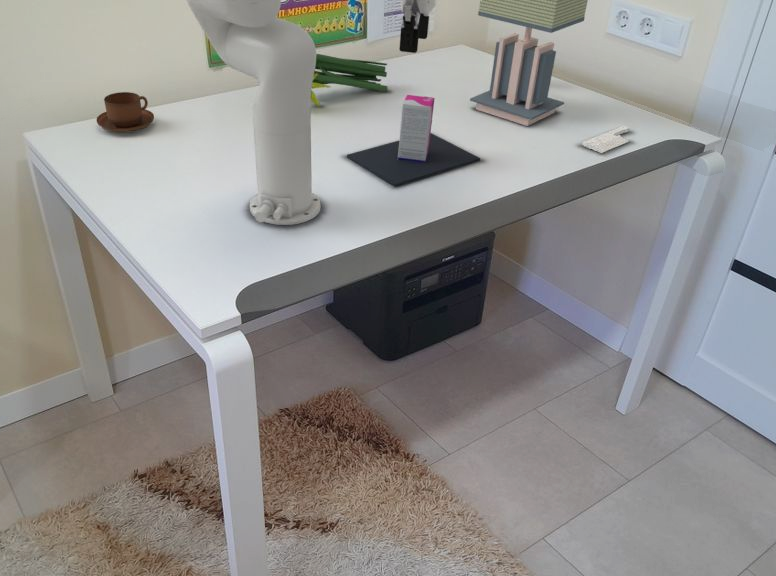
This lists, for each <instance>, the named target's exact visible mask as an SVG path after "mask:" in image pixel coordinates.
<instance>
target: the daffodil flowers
mask: <svg viewBox="0 0 776 576" xmlns="http://www.w3.org/2000/svg"><path fill="white" fill-rule="evenodd" d="M282 19H283V20H286V21H287V16H284V17H283V18H282ZM386 66H388V63H387V62H379V61H371V60H362V59H352V58H351V59H350V58H340V57H335V56H330V55H326V54H321V53H316V65H315V71H314V76H313V82H312V89H320V88H331V87H332V86H331V85H332V84H333V85H340V86H346V87H347V86H348V87H355V88H361V89H367V90H374V91H379V92H386V93H387V92H388V85H385V84H381V83H378V82H381V81H382V78H387V75H388V73H387V71H386ZM319 70H320V71H319ZM378 77H381V78H378ZM330 84H331V85H330ZM311 102H313V103H314V104H315V105H316V106H317V107H321V104H320V103H319V100H318V98H317V96H316V94H315V92H314V91H313V90H311Z"/></svg>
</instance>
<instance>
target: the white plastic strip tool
mask: <svg viewBox="0 0 776 576" xmlns="http://www.w3.org/2000/svg"><path fill="white" fill-rule="evenodd" d="M629 132H630V127H628V126H626V125H622V126H620V127H617V128H614V129H611V130H610V131H606V132H603V133H601V134H599V135H597V136H595V137H594V136H593V137H591V138H589V139H586V140H584V141H582V142H581V146H582V147H585V148H588V149H590V150H592V151H595V152H596V153H597V152H598V153H600V154H603V153H606V152H608V151H610V150H613V149H614V148H618V147H620V146H622V145H625V144H627V143H629V142H630V140H627V139H626V138H624V137H622V136H621V135H622V134H625V133H629Z"/></svg>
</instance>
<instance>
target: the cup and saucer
mask: <svg viewBox="0 0 776 576" xmlns="http://www.w3.org/2000/svg"><path fill="white" fill-rule="evenodd" d="M141 100H143V101H144V105H143V106H142V103H141ZM103 102H104V106H105V111H104V112H102V113H100V114H99V115H98V116H97V117H96V123H97V125H98V126H99V127H100V128H102V129H103V130H106V131H109V132H112V133H113V132H114V133H132V132H136V131H141V130H143V129H145V128H147V127H148V126H150V125H152V124H153V122H154V120H155V115H154V113H153V112H152V111H150V110H148V109H147V107H148V105H149V102H148V99H147V97H145V96H144V95H139V94H137V93H136V92H130V91H121V92H120V91H119V92H114V93H111V94H108V95H106V96H104V98H103Z"/></svg>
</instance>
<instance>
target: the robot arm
mask: <svg viewBox="0 0 776 576" xmlns="http://www.w3.org/2000/svg"><path fill="white" fill-rule="evenodd" d="M186 3H187V5H188V7H189V8H190V10H191V12H192V14H193V16H194V17H195V19H196V21H197V22H198V24H199V26H200V27H201V29H202V31H203V33H204V35H205V37H206V38H207V39H208V41H209V42H210V44H211V46H212V47H213V49H214V51H215V53H216V54H217V55H218V57H219V58H220V59H221V61H222V62H223V63H224V64H225V65H227V66H228V67H229V68H230V69H232V70H234V71H237V72H239V73H242V74H244V75H247V76H249V77H252V78H254V79H256V80H258V82H259V86H258V89H257V90H258V91H257V93H256V95H255V97H254V100H253V104H252V115H251V116H252V126H253V141H254V142H253V143H254V144H253V145H254V158H255V159H254V160H255V173H256V187H257V189H256V191H257V193H256V194H255V195H254V196H252V198H251V199H250V201H249V211H250V213H251V215H252V216H253V217H254V219H255V221H257V222H258V223H266V224H271V225H276V226H290V225H291V226H292V225H297V224H302V223H306V222H308V221H310V220H312V219H314V218H315V217H317V215H319V213H320V212H321V208H322V206H321V200H320V198H319V197H318V195H316V194H315V193H313V189H312V188H313V187H312V186H313V185H312V184H313V183H312V180H313V179H312V124H311V123H312V122H311V121H312V120H311V117H312V116H311V115H312V114H311V107H312V105H311V104H312V101H311V90H312V89H313V88H312V82H313V76H314V71H316V69H315V65H316V54H317V49H316V45H315V42H314V40H313V38H312V37H311V35H310V34H309V33H308V32H307V31H306V30H305V29H304V28H303V27H302V26H300V25H298V24H296V23H295V22H292V21H290V20H289V21H288V20H287V19H286V20H283V19H284V18H279V17H278V15H279V13H280V10H281V6H282V4H281V3H282V0H186ZM436 3H437V0H400V11H401V13H402V20H401V26H400V37H399V51H400V52H402V53H411V54H416V53H418V47H419V40H420V39H421V40H426V39H427V38H428V32H429V24H430V23H429V22H430V16H429V15H430V13H431V12H432V11H433V9H434V8H435V7H436ZM312 91H313V90H312Z"/></svg>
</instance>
